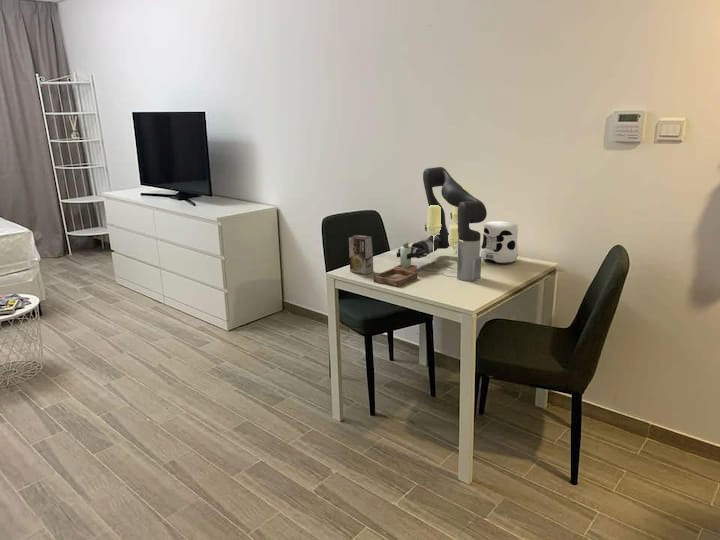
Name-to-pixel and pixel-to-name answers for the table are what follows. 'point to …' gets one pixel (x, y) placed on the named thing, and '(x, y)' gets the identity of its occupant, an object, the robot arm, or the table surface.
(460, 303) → the table surface
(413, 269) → the holder
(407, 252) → the bottle
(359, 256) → the coffee box
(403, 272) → the tray
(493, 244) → the cow print rice cooker
